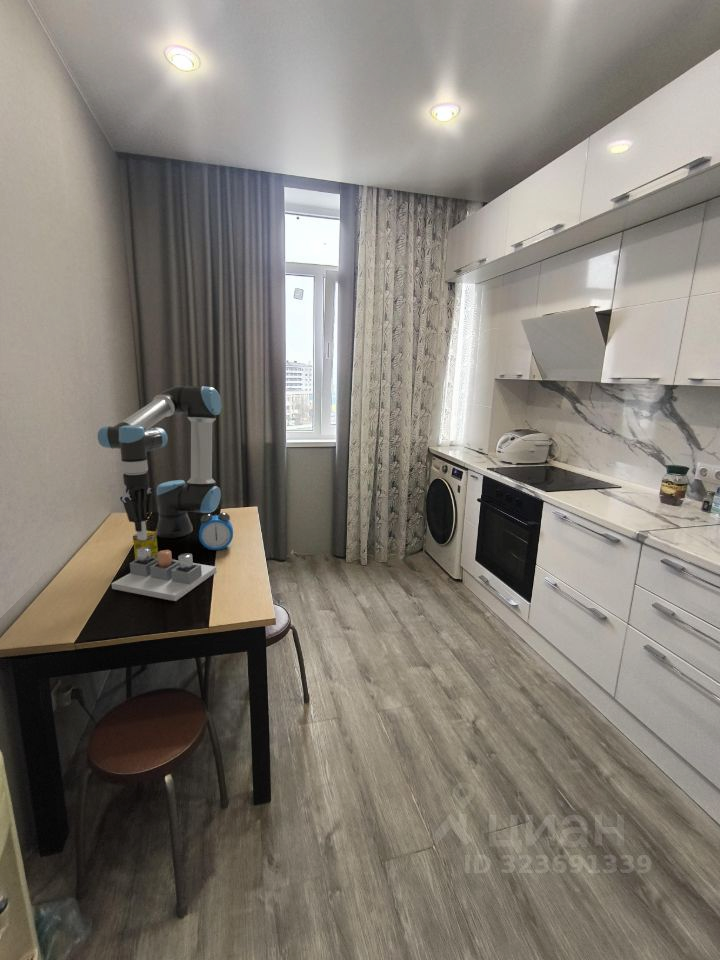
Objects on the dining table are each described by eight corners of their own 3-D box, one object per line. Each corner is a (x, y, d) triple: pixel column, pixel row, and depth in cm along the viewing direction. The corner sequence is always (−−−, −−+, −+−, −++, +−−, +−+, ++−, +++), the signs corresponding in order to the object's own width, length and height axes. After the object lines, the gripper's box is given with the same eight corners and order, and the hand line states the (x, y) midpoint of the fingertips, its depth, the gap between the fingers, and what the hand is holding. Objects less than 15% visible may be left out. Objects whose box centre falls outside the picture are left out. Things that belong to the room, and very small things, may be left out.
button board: (159, 562, 165) (157, 547, 164) (216, 571, 159) (215, 556, 157) (112, 588, 145) (110, 572, 143) (175, 601, 138) (174, 584, 137)
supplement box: (149, 564, 163) (146, 537, 161) (135, 562, 165) (131, 535, 162) (159, 557, 169) (156, 531, 166) (145, 556, 170) (142, 529, 168)
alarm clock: (200, 552, 175) (197, 517, 171) (200, 546, 181) (198, 512, 177) (233, 549, 179) (232, 514, 175) (233, 543, 184) (231, 510, 181)
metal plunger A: (144, 559, 155) (143, 546, 154) (154, 560, 154) (153, 547, 153) (135, 564, 151) (133, 550, 150) (145, 565, 150) (144, 552, 149)
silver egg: (185, 565, 151) (184, 552, 150) (196, 567, 150) (195, 554, 148) (176, 571, 147) (175, 557, 145) (187, 573, 146) (186, 559, 144)
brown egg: (164, 562, 153) (163, 549, 152) (175, 564, 152) (173, 550, 151) (155, 567, 149) (154, 554, 148) (166, 569, 148) (165, 555, 147)
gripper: (141, 467, 152) (147, 531, 157) (110, 475, 140) (118, 544, 145) (159, 469, 150) (164, 534, 155) (129, 477, 138) (136, 547, 143)
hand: (142, 539), depth 150 cm, fingers closed
